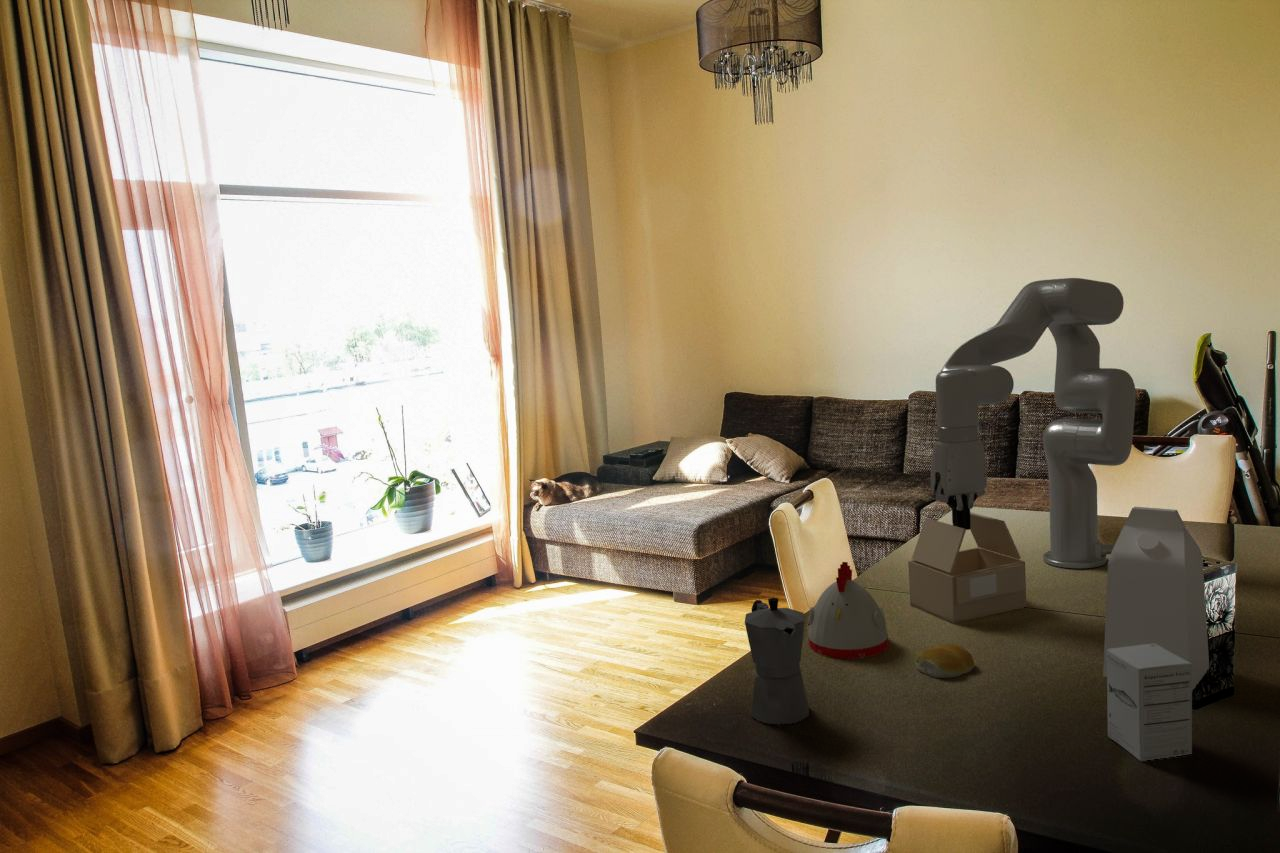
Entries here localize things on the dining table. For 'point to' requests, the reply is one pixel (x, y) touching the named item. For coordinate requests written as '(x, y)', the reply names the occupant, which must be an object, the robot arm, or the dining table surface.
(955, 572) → the carton
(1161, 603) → the milk
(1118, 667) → the supplement box
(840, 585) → the kitchen timer
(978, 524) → the flap
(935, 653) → the bread roll
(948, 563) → the flap
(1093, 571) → the dining table surface
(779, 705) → the coffeepot
